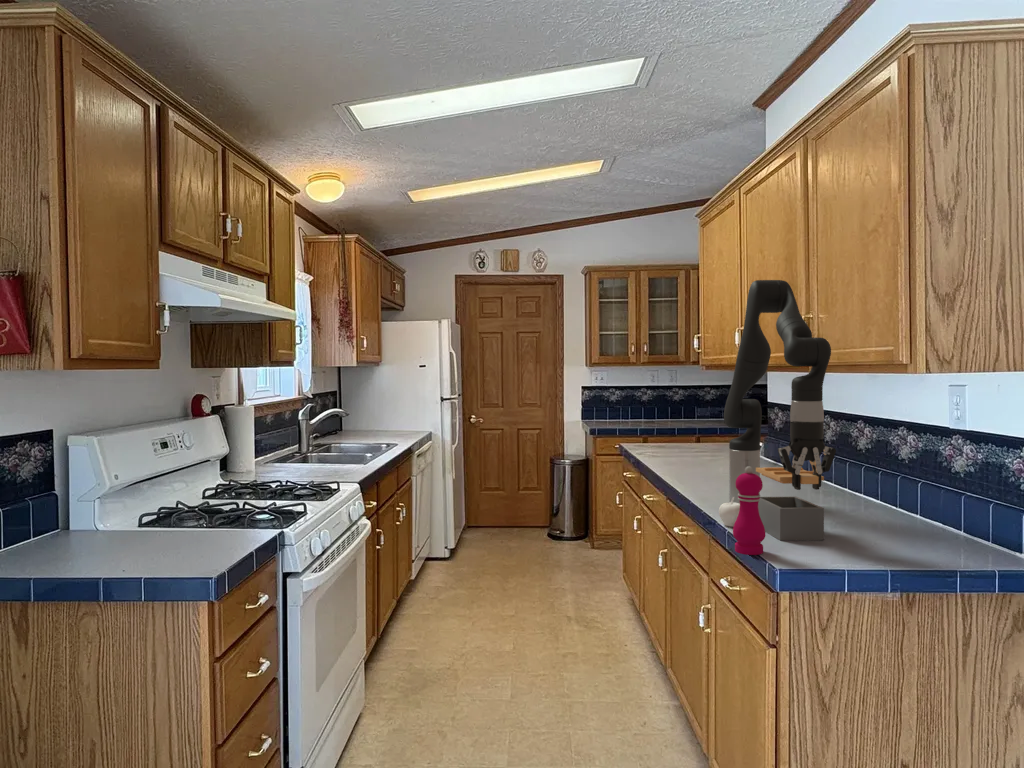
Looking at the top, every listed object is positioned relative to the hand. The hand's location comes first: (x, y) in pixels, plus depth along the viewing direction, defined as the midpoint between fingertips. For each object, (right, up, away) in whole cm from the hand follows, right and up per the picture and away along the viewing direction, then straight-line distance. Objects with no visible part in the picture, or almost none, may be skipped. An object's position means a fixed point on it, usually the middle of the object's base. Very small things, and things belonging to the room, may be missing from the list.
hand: (806, 488), depth 168 cm
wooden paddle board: (0, +1, +8) cm, 8 cm away
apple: (-12, -13, +20) cm, 26 cm away
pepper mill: (-17, -14, -8) cm, 23 cm away
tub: (0, -13, +11) cm, 17 cm away
